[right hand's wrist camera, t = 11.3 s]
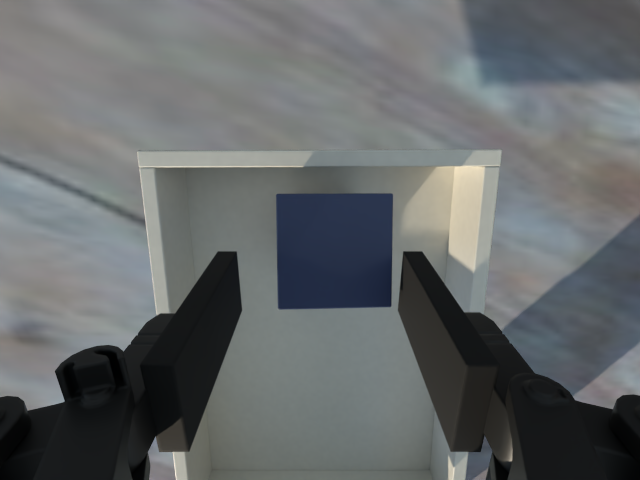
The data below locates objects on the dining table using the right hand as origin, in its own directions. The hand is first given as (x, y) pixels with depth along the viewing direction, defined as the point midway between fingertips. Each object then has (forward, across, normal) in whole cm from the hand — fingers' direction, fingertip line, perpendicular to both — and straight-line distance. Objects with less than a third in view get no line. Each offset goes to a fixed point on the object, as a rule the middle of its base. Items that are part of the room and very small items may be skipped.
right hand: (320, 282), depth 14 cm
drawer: (+8, 0, -8) cm, 11 cm away
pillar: (+7, 0, -1) cm, 8 cm away
